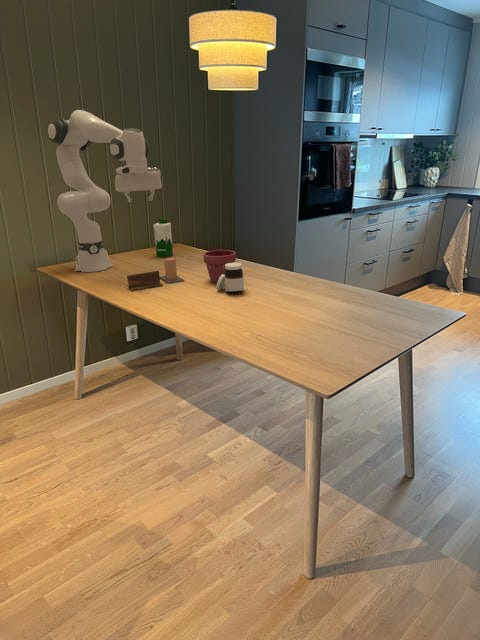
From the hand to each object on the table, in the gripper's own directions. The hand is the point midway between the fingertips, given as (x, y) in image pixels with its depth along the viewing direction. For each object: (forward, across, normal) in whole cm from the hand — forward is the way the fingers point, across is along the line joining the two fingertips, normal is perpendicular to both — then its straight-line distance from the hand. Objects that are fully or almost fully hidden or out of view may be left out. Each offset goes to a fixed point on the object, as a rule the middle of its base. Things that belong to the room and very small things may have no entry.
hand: (140, 201), depth 208 cm
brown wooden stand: (+35, +6, +14) cm, 38 cm away
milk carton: (+35, -22, -40) cm, 58 cm away
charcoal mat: (+35, -8, +9) cm, 37 cm away
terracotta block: (+34, -8, +9) cm, 37 cm away
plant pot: (+35, -26, +24) cm, 50 cm away
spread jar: (+35, -22, +41) cm, 58 cm away
